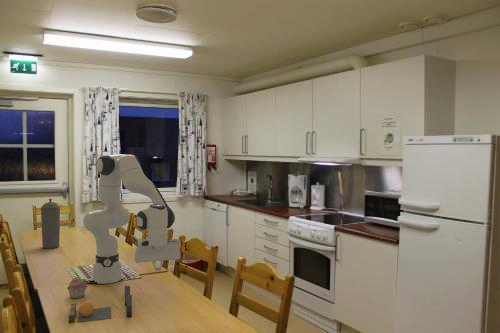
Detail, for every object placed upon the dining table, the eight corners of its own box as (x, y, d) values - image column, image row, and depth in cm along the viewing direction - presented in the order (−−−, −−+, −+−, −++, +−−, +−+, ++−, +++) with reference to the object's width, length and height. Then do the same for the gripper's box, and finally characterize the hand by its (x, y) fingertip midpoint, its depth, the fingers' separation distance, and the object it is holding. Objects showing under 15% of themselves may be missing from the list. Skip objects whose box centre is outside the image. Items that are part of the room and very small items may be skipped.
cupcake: (91, 296, 205) (91, 276, 204) (72, 301, 198) (72, 280, 197) (82, 291, 211) (81, 272, 210) (63, 296, 204) (63, 276, 203)
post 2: (126, 315, 182) (125, 295, 181) (131, 314, 183) (131, 294, 182) (126, 317, 180) (126, 297, 179) (132, 316, 180) (132, 296, 180)
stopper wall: (71, 310, 187) (71, 303, 187) (76, 309, 188) (76, 303, 187) (68, 323, 174) (68, 315, 174) (74, 322, 174) (73, 315, 174)
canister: (57, 244, 311) (57, 197, 309) (62, 247, 301) (62, 199, 300) (39, 246, 303) (38, 198, 301) (43, 250, 293) (43, 200, 292)
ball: (81, 298, 183) (95, 302, 185) (76, 312, 182) (89, 316, 184) (81, 302, 177) (95, 306, 179) (75, 316, 176) (90, 320, 178)
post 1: (124, 304, 194) (124, 285, 194) (130, 304, 195) (130, 285, 194) (124, 306, 192) (124, 287, 191) (130, 306, 193) (130, 286, 192)
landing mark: (79, 310, 187) (79, 310, 187) (110, 307, 191) (110, 306, 191) (77, 322, 174) (77, 321, 174) (110, 318, 179) (110, 318, 179)
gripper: (179, 237, 196) (179, 266, 197) (134, 240, 190) (134, 270, 190) (181, 240, 190) (181, 270, 191) (135, 243, 184) (135, 274, 184)
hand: (157, 270), depth 191 cm, fingers closed
